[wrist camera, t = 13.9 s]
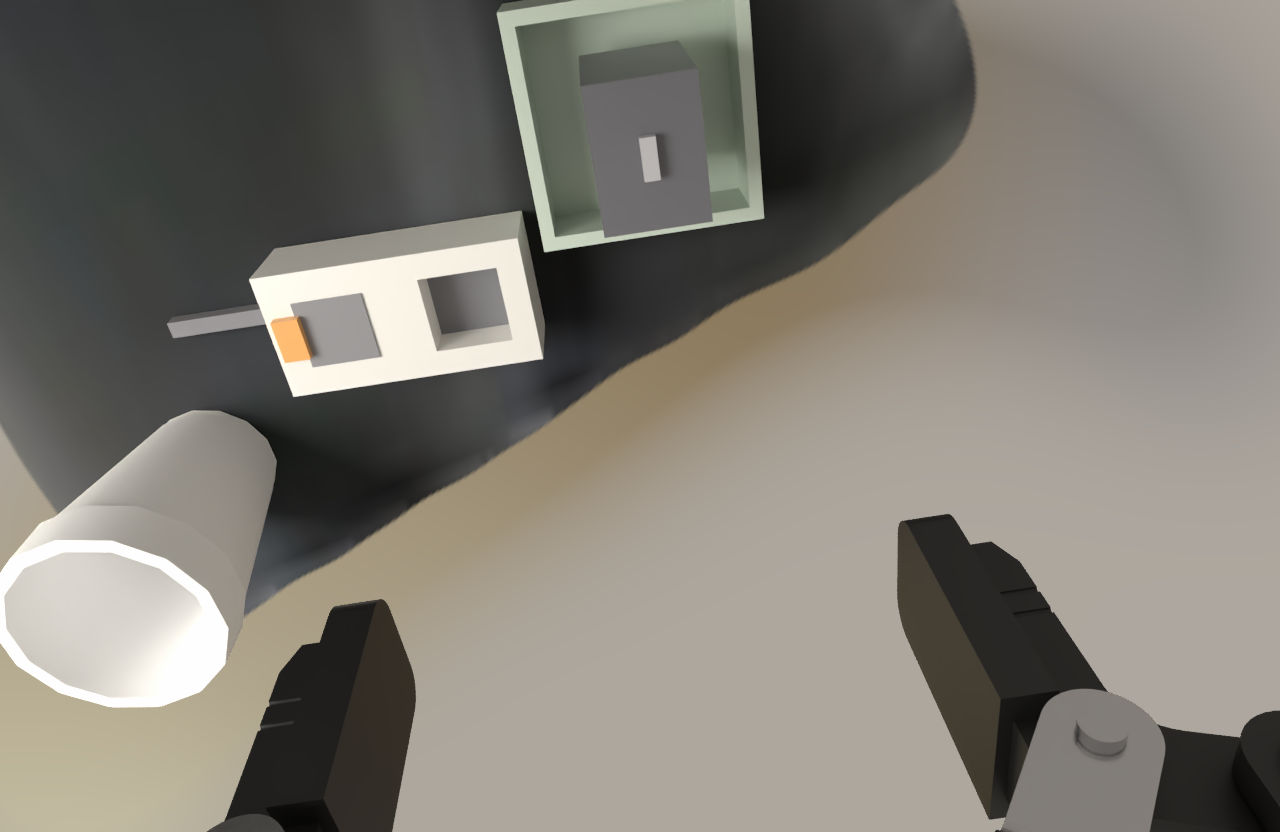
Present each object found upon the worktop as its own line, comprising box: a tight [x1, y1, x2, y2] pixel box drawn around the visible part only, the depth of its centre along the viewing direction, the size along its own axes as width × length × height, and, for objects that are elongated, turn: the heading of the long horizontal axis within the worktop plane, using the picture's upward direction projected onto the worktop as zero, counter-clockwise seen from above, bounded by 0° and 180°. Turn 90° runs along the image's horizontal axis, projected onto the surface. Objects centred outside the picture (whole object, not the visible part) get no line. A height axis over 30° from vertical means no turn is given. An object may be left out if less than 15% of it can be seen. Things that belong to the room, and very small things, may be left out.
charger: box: [579, 40, 713, 238], centre depth 37 cm, size 6×4×9 cm
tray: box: [497, 0, 764, 252], centre depth 40 cm, size 10×10×4 cm
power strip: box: [167, 211, 545, 397], centre depth 43 cm, size 6×18×4 cm, turn 98°
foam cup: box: [0, 410, 277, 707], centre depth 43 cm, size 10×9×13 cm
